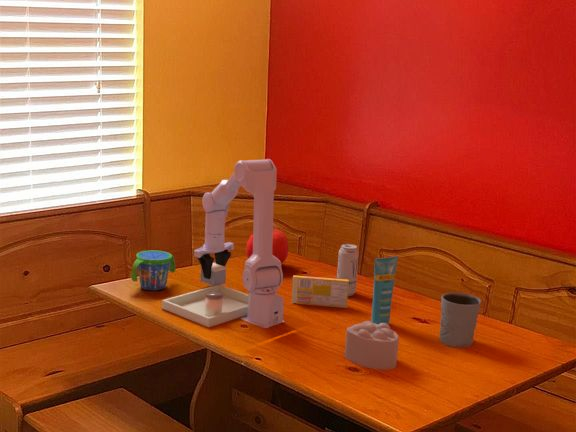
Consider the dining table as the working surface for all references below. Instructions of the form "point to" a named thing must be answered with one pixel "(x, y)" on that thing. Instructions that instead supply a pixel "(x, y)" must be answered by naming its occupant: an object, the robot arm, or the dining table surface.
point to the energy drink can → (348, 266)
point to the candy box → (320, 291)
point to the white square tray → (195, 305)
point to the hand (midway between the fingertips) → (213, 276)
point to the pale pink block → (215, 275)
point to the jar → (213, 303)
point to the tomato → (273, 245)
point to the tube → (383, 289)
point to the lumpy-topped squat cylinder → (372, 345)
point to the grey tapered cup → (458, 319)
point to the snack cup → (153, 269)
